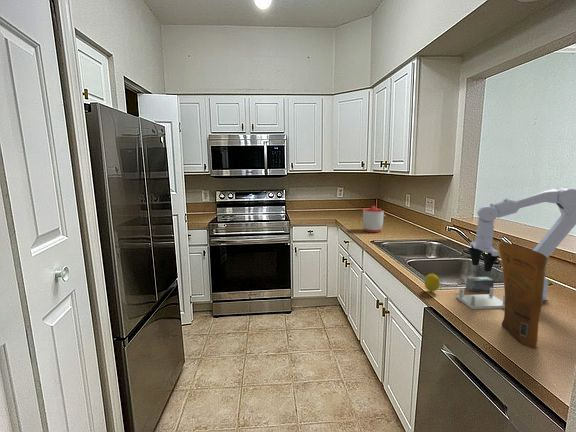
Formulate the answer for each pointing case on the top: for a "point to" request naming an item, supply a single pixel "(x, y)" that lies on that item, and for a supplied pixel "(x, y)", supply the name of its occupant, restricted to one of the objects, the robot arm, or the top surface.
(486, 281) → the block
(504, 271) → the pancake mix bag
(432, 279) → the lemon
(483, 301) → the tray
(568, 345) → the top surface
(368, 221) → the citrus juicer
